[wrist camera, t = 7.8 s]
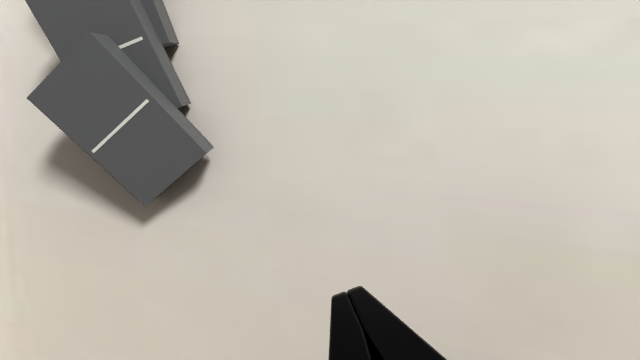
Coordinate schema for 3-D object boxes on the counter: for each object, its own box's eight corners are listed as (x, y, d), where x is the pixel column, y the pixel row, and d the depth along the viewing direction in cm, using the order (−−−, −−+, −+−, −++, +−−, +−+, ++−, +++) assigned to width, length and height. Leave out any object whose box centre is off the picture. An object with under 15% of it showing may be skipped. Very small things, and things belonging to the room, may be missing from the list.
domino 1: (181, 106, 19) (106, -45, 17) (105, 136, 20) (20, -8, 17) (190, 103, 21) (123, -36, 18) (119, 131, 21) (44, -1, 19)
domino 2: (206, 153, 19) (89, 32, 17) (144, 206, 19) (25, 97, 17) (213, 146, 20) (108, 35, 18) (156, 196, 21) (49, 95, 19)
